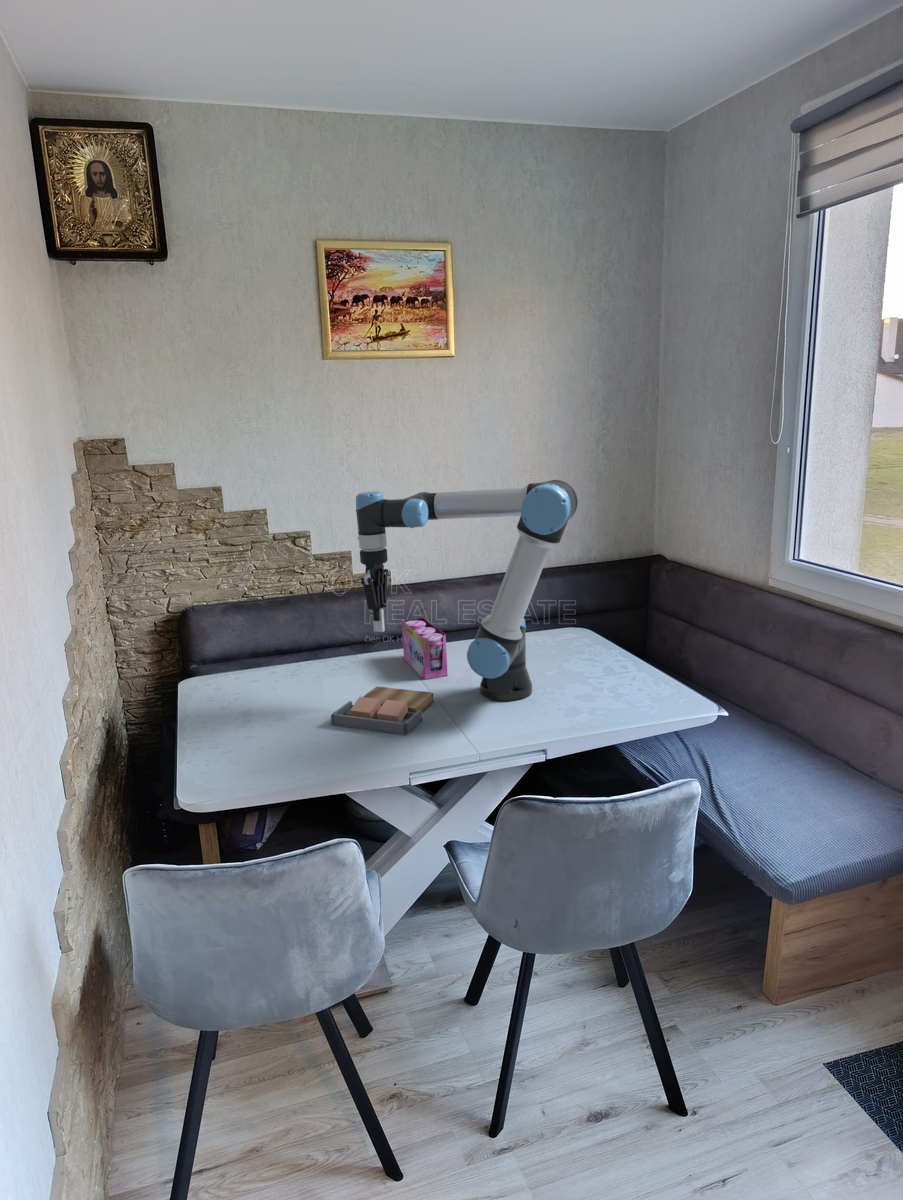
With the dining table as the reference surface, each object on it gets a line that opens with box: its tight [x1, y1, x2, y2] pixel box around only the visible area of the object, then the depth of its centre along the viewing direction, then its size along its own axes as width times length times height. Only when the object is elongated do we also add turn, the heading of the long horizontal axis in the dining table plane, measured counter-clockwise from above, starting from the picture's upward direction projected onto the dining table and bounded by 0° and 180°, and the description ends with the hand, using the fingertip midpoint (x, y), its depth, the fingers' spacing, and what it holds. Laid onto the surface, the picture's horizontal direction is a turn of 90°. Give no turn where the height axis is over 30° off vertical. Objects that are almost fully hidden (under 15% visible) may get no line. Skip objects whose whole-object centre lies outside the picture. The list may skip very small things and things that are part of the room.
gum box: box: [401, 617, 449, 680], centre depth 246 cm, size 24×8×14 cm, turn 21°
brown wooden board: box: [362, 685, 435, 714], centre depth 216 cm, size 18×12×3 cm, turn 68°
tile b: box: [350, 696, 381, 719], centre depth 208 cm, size 6×6×3 cm
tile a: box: [377, 700, 408, 722], centre depth 205 cm, size 6×6×3 cm
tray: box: [330, 700, 423, 736], centre depth 205 cm, size 22×10×3 cm, turn 68°
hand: (379, 630), depth 217 cm, fingers closed
